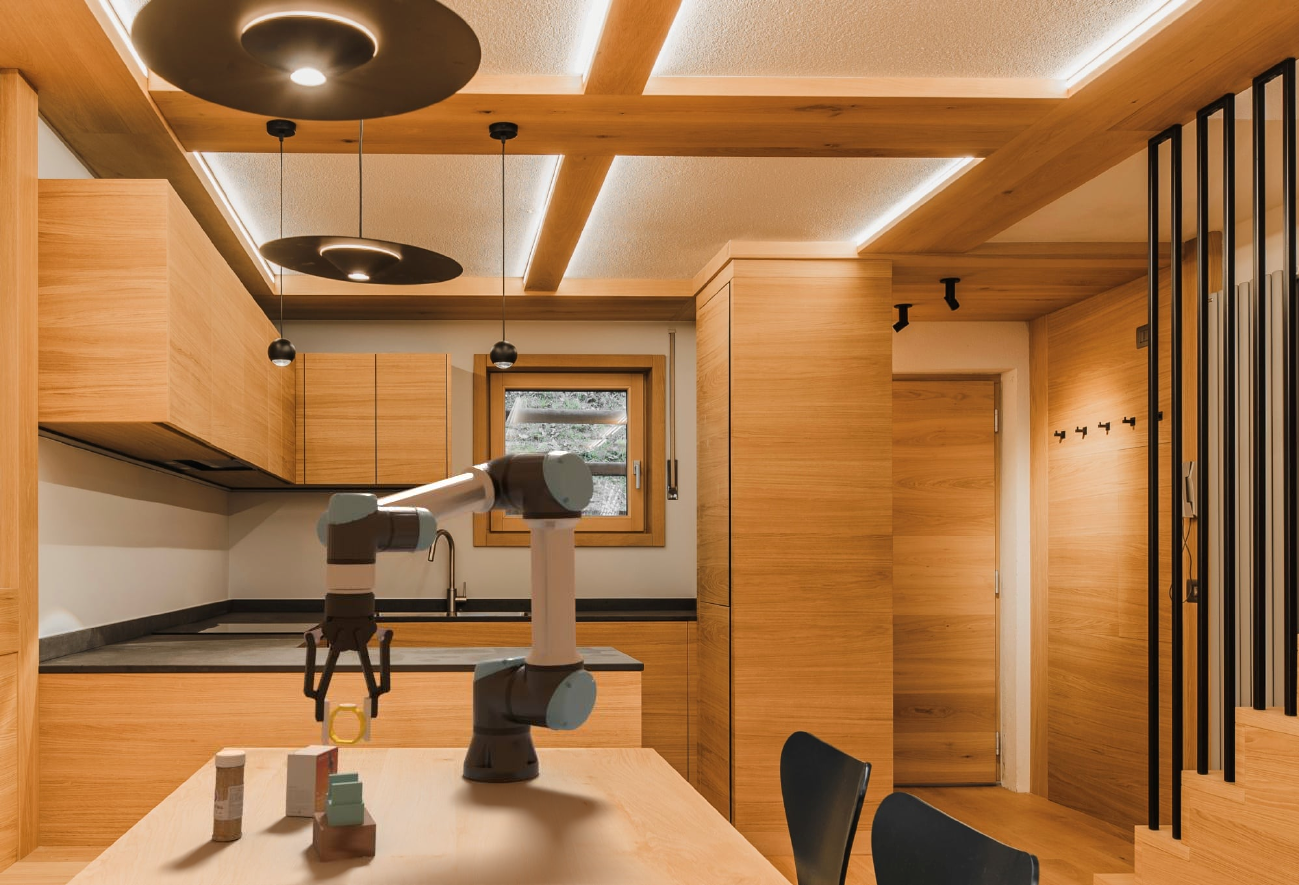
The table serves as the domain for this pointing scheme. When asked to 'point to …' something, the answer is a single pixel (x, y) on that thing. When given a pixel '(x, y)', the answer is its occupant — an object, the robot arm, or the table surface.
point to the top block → (344, 800)
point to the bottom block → (343, 838)
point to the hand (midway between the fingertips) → (345, 740)
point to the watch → (360, 715)
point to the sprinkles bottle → (228, 795)
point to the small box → (309, 779)
